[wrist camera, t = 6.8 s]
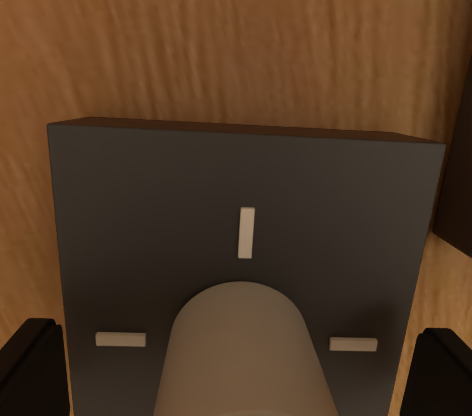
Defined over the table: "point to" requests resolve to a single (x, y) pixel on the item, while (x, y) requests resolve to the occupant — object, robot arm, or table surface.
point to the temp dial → (242, 358)
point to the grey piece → (458, 181)
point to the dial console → (236, 244)
